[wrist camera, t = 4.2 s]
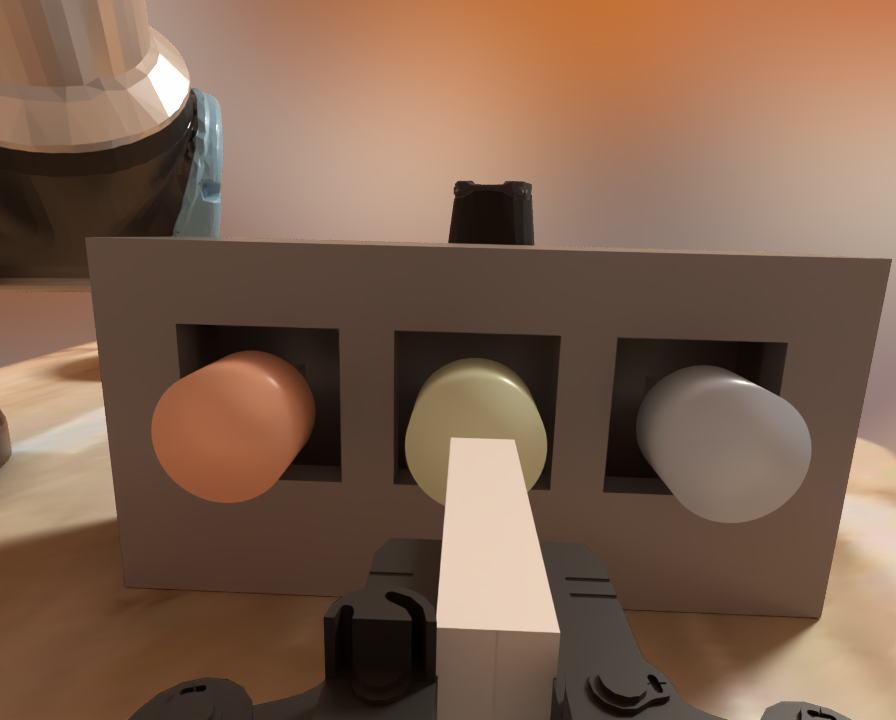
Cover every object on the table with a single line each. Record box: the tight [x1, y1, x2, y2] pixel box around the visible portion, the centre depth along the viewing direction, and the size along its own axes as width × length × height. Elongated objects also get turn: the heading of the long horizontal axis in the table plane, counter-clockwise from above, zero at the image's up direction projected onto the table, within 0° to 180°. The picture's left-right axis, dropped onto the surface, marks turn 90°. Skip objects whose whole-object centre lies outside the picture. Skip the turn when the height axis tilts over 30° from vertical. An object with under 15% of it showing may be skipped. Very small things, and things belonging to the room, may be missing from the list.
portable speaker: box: [448, 181, 534, 246], centre depth 58 cm, size 9×9×20 cm
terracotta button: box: [151, 351, 316, 503], centre depth 20 cm, size 4×6×4 cm
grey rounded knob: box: [636, 365, 812, 523], centre depth 20 cm, size 4×6×4 cm
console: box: [85, 237, 892, 618], centre depth 25 cm, size 28×8×14 cm, turn 88°
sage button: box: [405, 358, 547, 506], centre depth 20 cm, size 4×6×4 cm
